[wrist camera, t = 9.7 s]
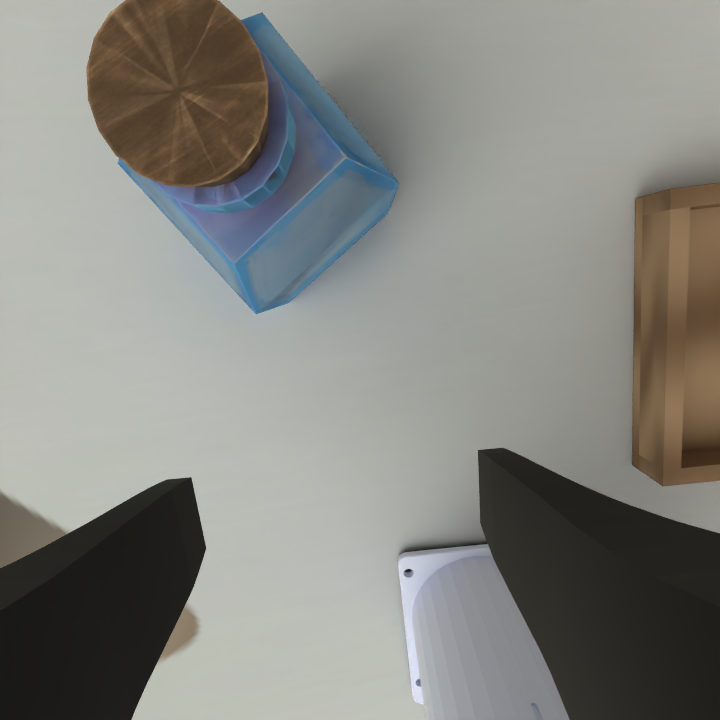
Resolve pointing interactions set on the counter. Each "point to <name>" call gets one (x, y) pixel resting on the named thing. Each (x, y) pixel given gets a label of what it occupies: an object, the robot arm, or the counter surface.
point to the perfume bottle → (234, 143)
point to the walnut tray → (677, 335)
